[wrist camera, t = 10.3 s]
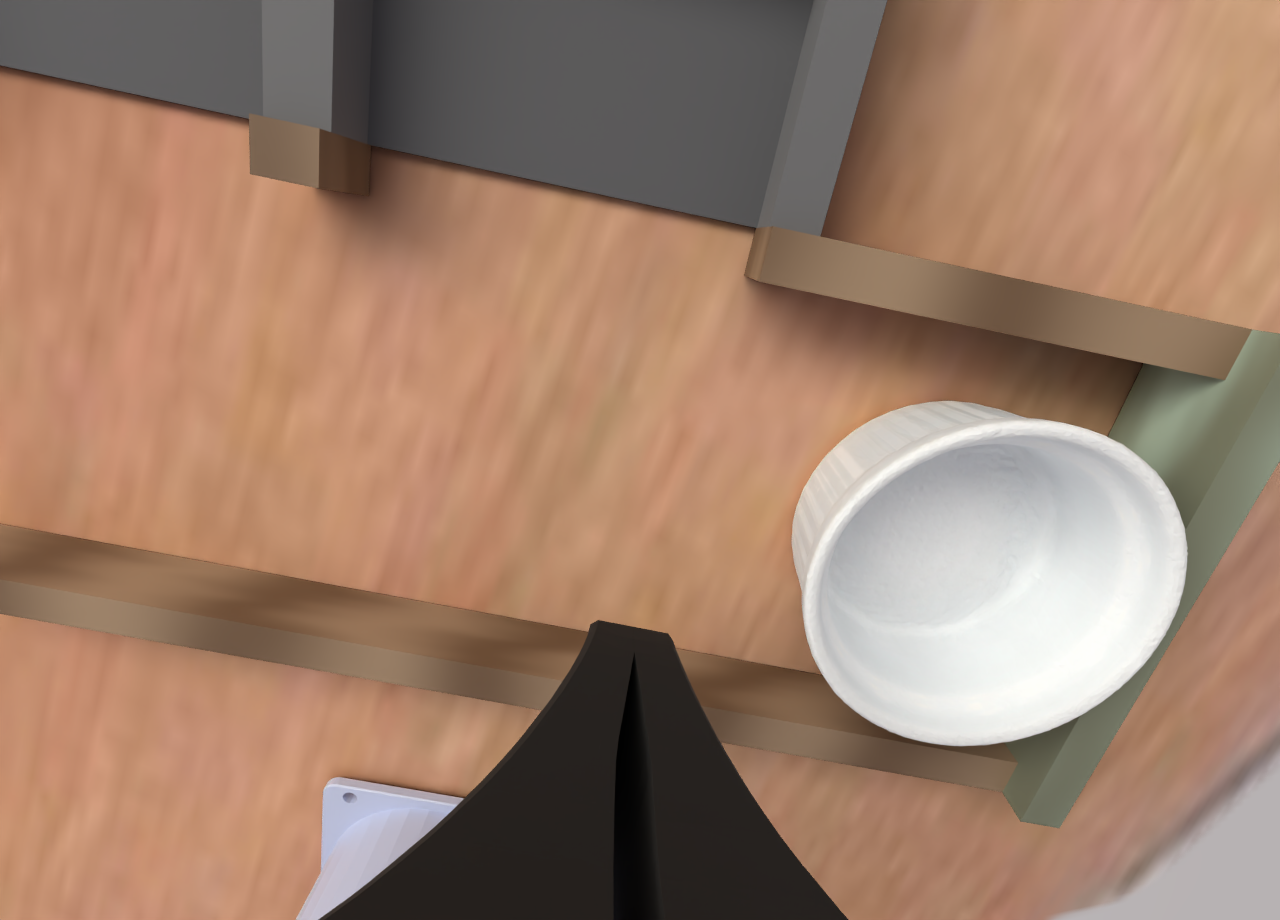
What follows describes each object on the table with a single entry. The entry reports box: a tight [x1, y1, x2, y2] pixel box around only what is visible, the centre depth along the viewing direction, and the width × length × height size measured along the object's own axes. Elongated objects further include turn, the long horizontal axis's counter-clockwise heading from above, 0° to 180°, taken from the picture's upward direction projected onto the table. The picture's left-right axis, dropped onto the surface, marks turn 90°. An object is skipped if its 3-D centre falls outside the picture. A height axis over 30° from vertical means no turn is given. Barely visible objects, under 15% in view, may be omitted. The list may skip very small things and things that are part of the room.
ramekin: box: [792, 401, 1188, 746], centre depth 17 cm, size 9×9×4 cm
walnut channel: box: [0, 113, 1280, 828], centre depth 16 cm, size 34×14×4 cm, turn 79°
